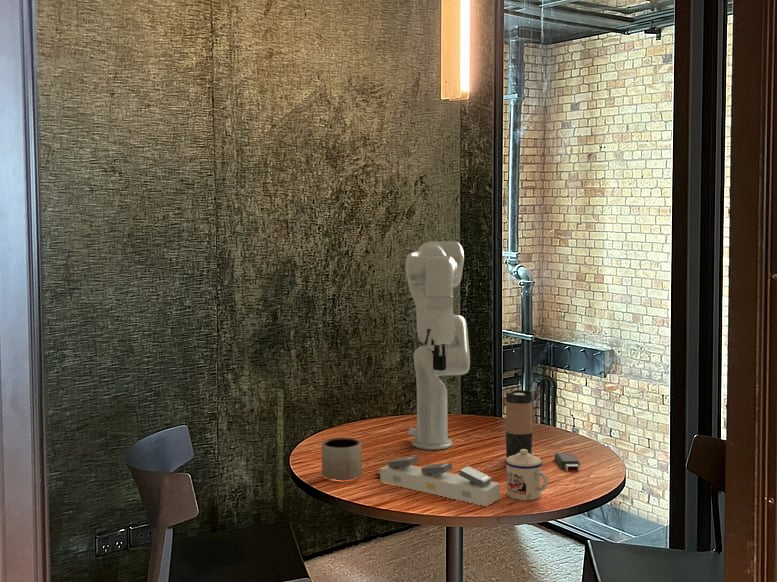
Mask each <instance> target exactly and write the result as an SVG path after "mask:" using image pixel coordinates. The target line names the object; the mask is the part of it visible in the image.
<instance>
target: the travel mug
mask: <svg viewBox="0 0 777 582" xmlns="http://www.w3.org/2000/svg"><path fill="white" fill-rule="evenodd" d="M505 393H506V394H505V451H506V452H505V453H506V459H507V458H508V457H509V456H512V455H515V454H517V453H520V450H521V449H526V450H528V453H529V454H531V455H533V454H532V453H533V452H532V451H533V447H532V446H533V393H532V392H531V391H528V390H520V389H519V390H518V389H517V390H516V389H515V390H512V392H508V391H506V392H505Z"/></svg>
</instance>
